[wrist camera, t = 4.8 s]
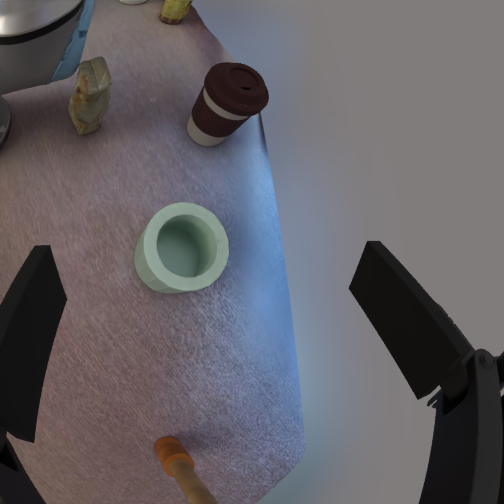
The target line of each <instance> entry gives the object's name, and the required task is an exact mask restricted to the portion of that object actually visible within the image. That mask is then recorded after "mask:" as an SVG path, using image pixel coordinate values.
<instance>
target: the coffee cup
mask: <svg viewBox="0 0 504 504" xmlns="http://www.w3.org/2000/svg"><path fill="white" fill-rule="evenodd" d="M268 100H269V95H268V90H267V87H266V86H265V83H264V80H263V78H262V77H261V76H260V74H259V73H258V72H257V71H255V70H254V69H253V68H251V67H249V66H247V65H244V64H241V63H229V62H225V63H219V64H216V65H215V66H213V67H212V68H211V69H210V70H209V72H208V73H207V75H206V77H205V81H204V86H203V88H202V90H201V92H200V94H199V96H198V98H197V100H196V102H195V104H194V106H193V109H192V113H191V116H190V118H189V120H188V122H187V131H188V134H189V136H190V137H191V138H192V139H193V140H194V141H195V142H196V143H198V144H200V145H203V146H208V147H209V146H215V145H218V144H219V143H221V142H222V141H223V140H224V139H225V138H226V137H227V136H229V135H231V134H232V133H233V132H234V131H235V130H236V129H238V128H239V127H240V126H241V125H242V124H243V123H244V122H245V121H247V120H248V119H249V118H250V117H251V116H253V115H256V114H258V113H259V112H260V111H261V110H262V109H263V108H264V107H265V106H266V105H267V103H268Z"/></svg>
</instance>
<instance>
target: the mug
mask: <svg viewBox="0 0 504 504" xmlns="http://www.w3.org/2000/svg"><path fill="white" fill-rule="evenodd" d="M119 1H120V2H121V3H124V4H128V5H138V4H142V3H144V2H145V1H147V0H119Z"/></svg>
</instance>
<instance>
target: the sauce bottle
mask: <svg viewBox="0 0 504 504" xmlns="http://www.w3.org/2000/svg"><path fill="white" fill-rule="evenodd" d="M192 1H193V0H165V2H164V4H163V7H162V9H161V12H160V16H159V18H160V19H161V20H162V21H163V22H166V23H170V24H177V23H180V22H181V21H182V20H183V18H184V17H185V15H186V13H187V11H188V9H189V7H190V5H191V3H192Z"/></svg>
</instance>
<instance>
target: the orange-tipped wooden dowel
mask: <svg viewBox="0 0 504 504" xmlns="http://www.w3.org/2000/svg"><path fill="white" fill-rule="evenodd" d="M154 449H155V452H156V454H157V456H158V458H159V461H160V463H161V465H162V467H163V469H164V471H165V472H166V473H167V474H168V475H170V476H172V477H175V479H176V481H177V483H178V484H179V486H180V488H181V489H182V491H183V493H184V494H185V496H186V497H187V499H188V501H189V502H190V504H219V502H218V501H217V500H216V499H215V498H214V496H213V495H212V494H211V493H210V491H209V490H208V489H207V488H206V486H205V485H204V484H203V482H202V481H201V480H200V478H199V477H198V476H197V474H196V473H195V472H194V470H193V468H194V462H193V459H192V458H191V457H190V455H189V454H188V453H187V451H186V450H185V448H184V447H183V446H182V444H181V443H180V441H179V440H178V439H176V438H174V437H169V436H167V437H162V438H160V439H159V440H158V441H157V442H156V443H155V446H154Z"/></svg>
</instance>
